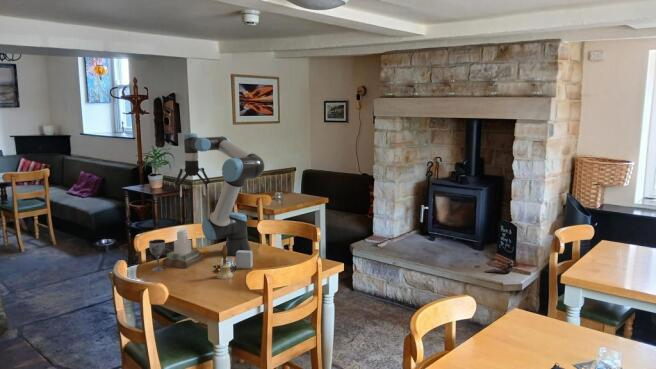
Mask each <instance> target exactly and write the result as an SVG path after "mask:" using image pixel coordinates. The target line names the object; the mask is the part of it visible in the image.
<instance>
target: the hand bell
mask: <svg viewBox="0 0 656 369" xmlns="http://www.w3.org/2000/svg"><path fill="white" fill-rule="evenodd" d="M221 255H222V264H221V265H219V267H220V268H219V272H218V274H216V278H217V279H220V280H224V279H225V280H228V279H231V278H233V277H234V273H232V271H231V269H230V265H228V264H227V257H228V255H227V248H226V244H223V246H222V249H221Z"/></svg>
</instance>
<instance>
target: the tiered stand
mask: <svg viewBox="0 0 656 369" xmlns="http://www.w3.org/2000/svg"><path fill="white" fill-rule="evenodd" d="M202 261H204V254H200V250H199V249H192V251H191V252H190V253H187V254H175V253H174V250H172V251H169V252H168V253H166V258H164V259H163V260H162V265H163V266H168V267H176V268H180V269H181V268H182V269H188V268H190V267H192V266H194V265H196V264H199V263H200V262H202Z"/></svg>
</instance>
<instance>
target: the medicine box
mask: <svg viewBox="0 0 656 369" xmlns="http://www.w3.org/2000/svg"><path fill="white" fill-rule="evenodd" d="M253 258H254V256H253V250H251V251H243V250H238V251H237V252H236V256H235V265H236V266H235V268H236V269H249V270H250V269H252V267H253V266H254V264H253V263H254V261H253V260H254V259H253Z"/></svg>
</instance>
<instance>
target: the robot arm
mask: <svg viewBox="0 0 656 369" xmlns="http://www.w3.org/2000/svg"><path fill="white" fill-rule="evenodd" d="M183 146H184V149H183V150H184V168H179V171H178V175H177V176H176V179H175V181H174V186H177V191H178V192H179V196H180V198H182V197H183V189H182V184H183V183H184V181H185V180H186V178H188V177H195V176H197V177H198V178H199V179H200V180H201V181H202V182H203V183H202V184H203V185H202V187H203V190H202V193H203V196H206V194H207V193H206V190H208V184H210V183H211V180H210V179H209V177H208V175H207V174H206V172H205V168H204V167H200V168H199V152H201V153H203V152H207V151H219V152H221V153H222V154H224V155H225V156H226V157H229V159H226V160H225V161H224V163H223V164H222V167H221V171H222V172H221V174H222V177H223V181H224V184H223V187H222V190H221V192H220V196H219V197H218V201H217V203H216V205H215V209H214V210H213V212H210V214H209V216H208V217H209V218H208V219H204V220H203V221H202V223H201V230H202V233H203V236H204V237H205V238H206V239H207V240H208V241H214V240H215V241H216V240H221V239H224V238H226V241H225V245H226V248H227V256H235V257H236V252H237V251H238V250H243V251H252V250H251V249H252V248H251V246H250V242H249V240H248V217H247V215H246V213H243V212H242V213H240V212H233V208H234V205H235V203H236V201H237V198H238V196H239V193H240V190H241V188H243V187H245V185H246V183H247V180H253V179H257V178H259V177H260V176H262V174H263V173H264V171H265V162H264V161H263V159H262V158H261V156H259V155H258V154H255V153H253V152H252V153H250V152H248V151H246V150H244V149H243V148H242V147H240V146H238V145H236V144H234V143H233V142H231V140H230V138H229V137H227V136H223V135H222V136H211V137H210V136H209V137H208V136H207V137H198V134H197V133H193V132H192V133H191V132H190V133H185V134H184V135H183ZM184 172H185V174H184V175H183V173H184ZM199 172H201V173H202V175H203V176H204V178H205V179H204V178H203V177H202V176H201V175H200V174H199ZM182 175H183V177H182ZM181 177H182V178H181Z"/></svg>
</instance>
